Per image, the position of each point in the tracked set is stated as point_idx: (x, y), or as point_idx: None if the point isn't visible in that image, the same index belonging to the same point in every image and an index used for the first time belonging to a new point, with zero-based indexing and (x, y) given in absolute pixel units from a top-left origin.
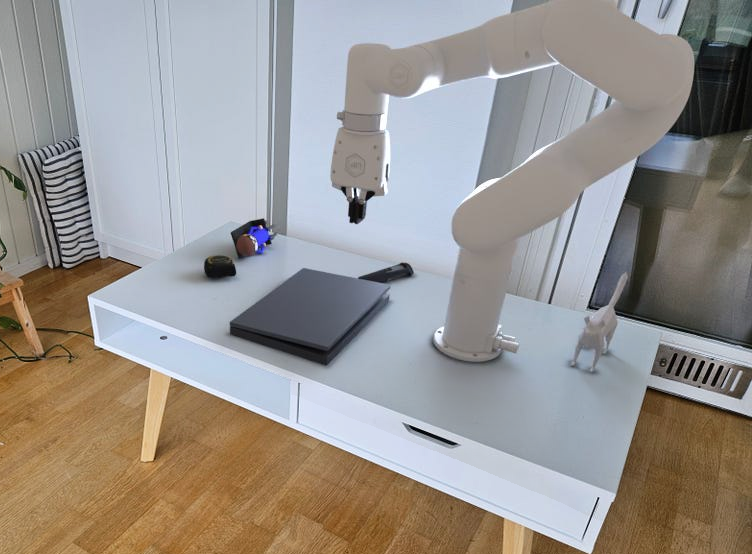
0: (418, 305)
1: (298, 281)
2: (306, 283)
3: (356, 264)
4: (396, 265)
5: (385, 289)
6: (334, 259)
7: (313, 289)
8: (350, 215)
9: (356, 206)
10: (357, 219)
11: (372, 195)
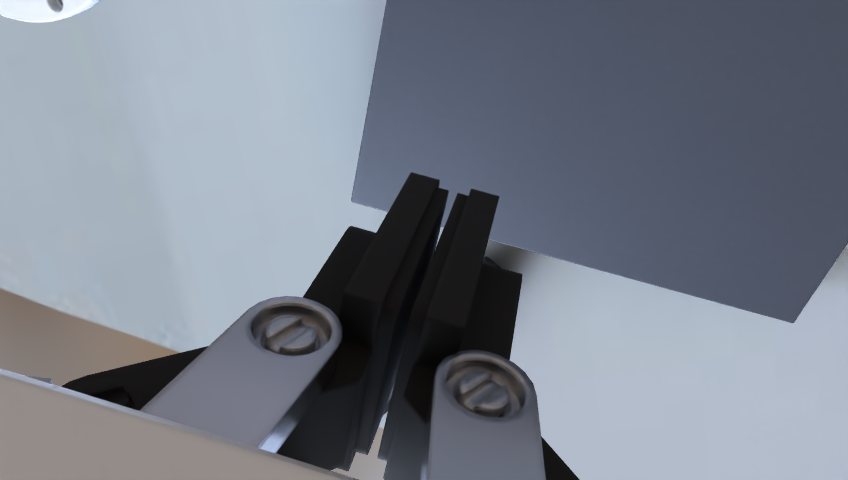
0: (262, 167)
1: (819, 168)
2: (771, 150)
3: (549, 437)
4: (385, 407)
5: (361, 151)
6: (643, 465)
7: (727, 84)
8: (481, 229)
9: (382, 281)
10: (399, 195)
11: (79, 384)
